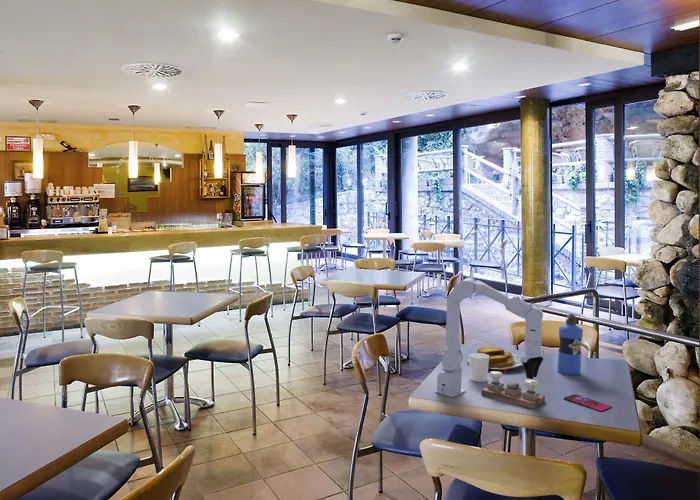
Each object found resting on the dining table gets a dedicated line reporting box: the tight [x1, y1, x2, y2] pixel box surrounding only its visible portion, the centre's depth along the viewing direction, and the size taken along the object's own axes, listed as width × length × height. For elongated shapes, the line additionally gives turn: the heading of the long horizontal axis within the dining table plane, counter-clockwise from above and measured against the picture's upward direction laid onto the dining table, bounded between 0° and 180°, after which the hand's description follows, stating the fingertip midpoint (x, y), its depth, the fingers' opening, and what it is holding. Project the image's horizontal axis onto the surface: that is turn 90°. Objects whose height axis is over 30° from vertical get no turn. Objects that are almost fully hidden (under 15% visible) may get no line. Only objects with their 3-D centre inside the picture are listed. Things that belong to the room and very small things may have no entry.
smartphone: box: [563, 393, 613, 413], centre depth 201 cm, size 8×1×15 cm
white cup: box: [468, 352, 489, 383], centre depth 226 cm, size 8×8×10 cm
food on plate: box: [466, 346, 524, 373], centre depth 247 cm, size 25×25×7 cm
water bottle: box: [557, 313, 584, 377], centre depth 236 cm, size 9×9×25 cm
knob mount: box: [481, 380, 546, 409], centre depth 206 cm, size 10×20×5 cm, turn 47°
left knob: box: [489, 370, 503, 382], centre depth 210 cm, size 4×4×3 cm
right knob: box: [524, 379, 539, 391], centre depth 201 cm, size 4×4×3 cm
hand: (531, 377), depth 200 cm, fingers open, 2 cm apart
